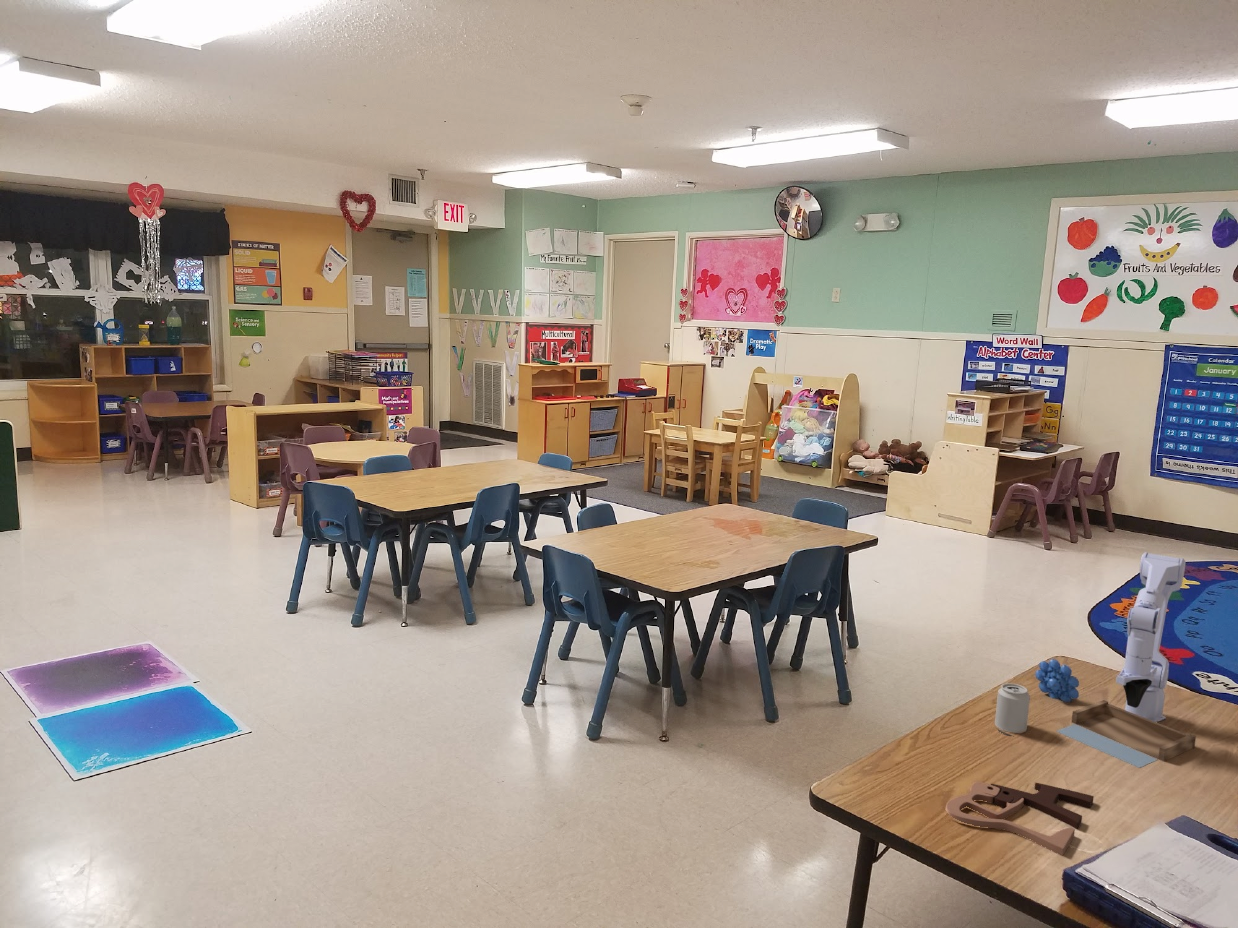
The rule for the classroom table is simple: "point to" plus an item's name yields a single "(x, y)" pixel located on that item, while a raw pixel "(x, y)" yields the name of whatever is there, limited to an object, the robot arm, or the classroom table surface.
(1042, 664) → the grapes
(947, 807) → the wood carving
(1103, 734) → the tray
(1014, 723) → the can
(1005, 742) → the classroom table surface
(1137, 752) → the panel
